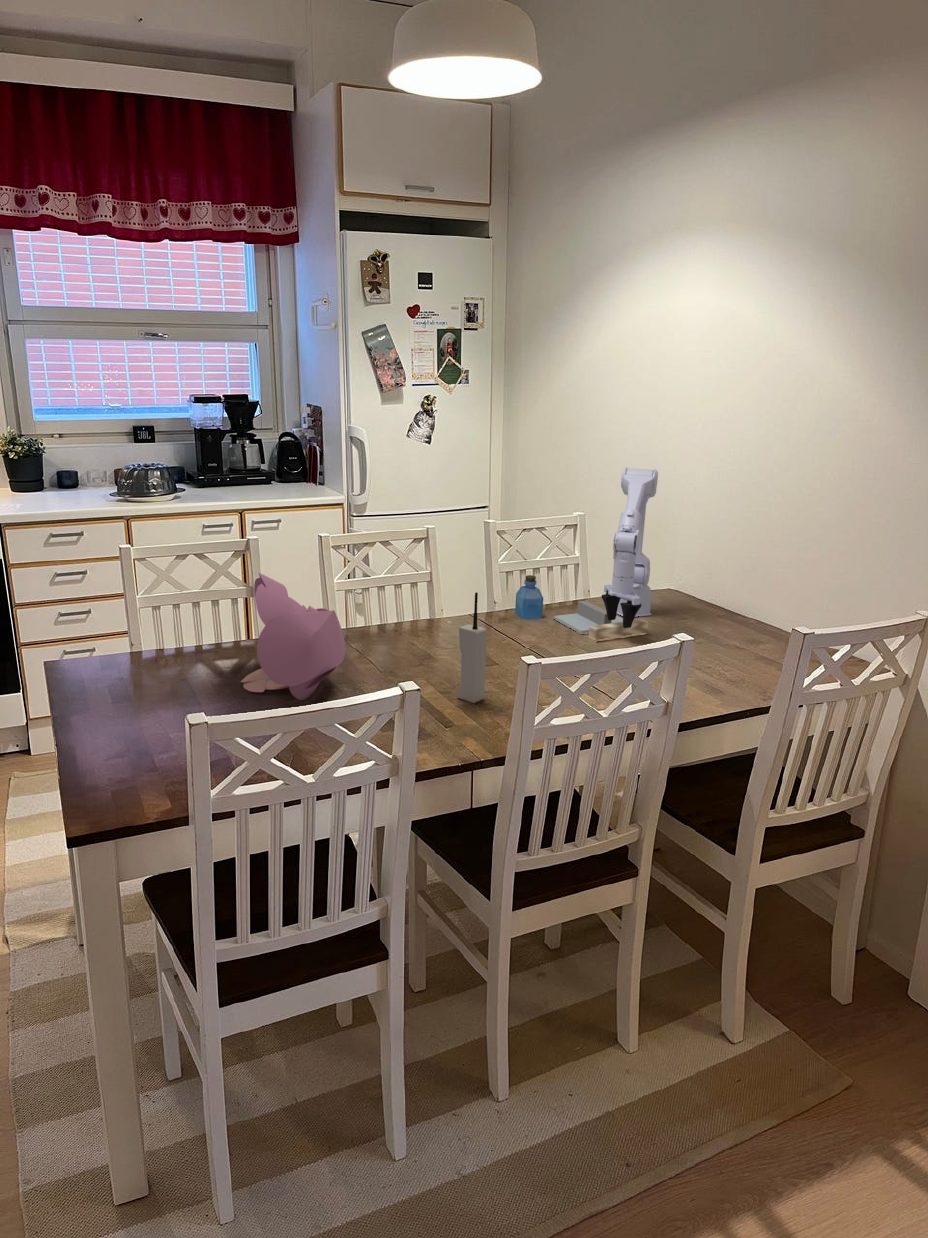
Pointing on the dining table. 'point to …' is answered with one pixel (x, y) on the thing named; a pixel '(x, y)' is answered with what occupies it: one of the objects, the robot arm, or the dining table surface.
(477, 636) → the vintage mobile phone
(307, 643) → the purple toy bird
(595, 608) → the stand
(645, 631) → the ash batten
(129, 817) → the dining table surface
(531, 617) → the perfume bottle
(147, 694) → the dining table surface
